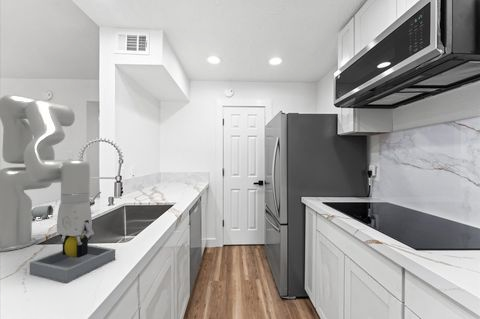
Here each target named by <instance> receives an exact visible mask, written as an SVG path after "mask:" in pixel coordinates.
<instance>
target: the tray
mask: <svg viewBox="0 0 480 319" xmlns="http://www.w3.org/2000/svg"><path fill="white" fill-rule="evenodd" d="M115 260H116V248H110V247H103V246H97V245H91V244H88V253H87V255H84V256H82V257H79V258H73V257H70V256H68V255H67V254H66V255H63V250H60V251H58V252H54V253H52V254H49V255H45V256H44V257H41V258H38V259H34V260H33V261H30V262H29V275H32V276H37V277H40V278H45V279H47V280H52V281H53V280H54V281H56V282H61V283H65V284H68V283H70V282H72V281H74V280H76V279H78V278H80V277H82V276H85V275H86V274H88V273H90V272H91V273H92V271H94V270H97V269H99V268H101V267H102V266H105V265H107V264H109V263H112V262H114V261H115Z"/></svg>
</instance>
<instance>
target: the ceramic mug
mask: <svg viewBox="0 0 480 319" xmlns="http://www.w3.org/2000/svg"><path fill="white" fill-rule="evenodd" d="M48 215H52V216H53V215H54V207H53V206H52V205H51V204H47V205H39V206H38V205H37V206H35V207H32V219H34V218H36V217H40V218H38V219H41V218H44V219H46V218H45V217H48Z"/></svg>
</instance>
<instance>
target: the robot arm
mask: <svg viewBox="0 0 480 319" xmlns="http://www.w3.org/2000/svg"><path fill="white" fill-rule="evenodd" d="M0 121H1V124H2V127H3V133H2V159H3V161H4V162H5V163H8V164H13V165H15V164H16V165H18V164H19V165H24V166H12V167H5V168H1V169H0V252H10V251H14V250H19V249H23V248H27V247H30V246H32V245H34V244H36V242H37V238H35V237H32V234H33V233H32V228H33V226H32V224H33V220H32V210H33V204H32V203H33V202H32V199H31V197H30V196H29V195H28V193H26V192H25V191H28V190H29V191H30V190H31V191H32V190H40V189H47V188H49V187H50V186H51V185H52V184H54V183H55V184H56V183H60V203H59V206H58V210H57V211H58V212H57V220H56V232H57V234H59V236H60V238H61V242H62V251H63V255H66V253H65V242H66V240H67V239H68V238H69V237H70V236H73V237H77V240H78V245H77V258H79V257H82V256H84V255H87V253H88V245H89V244H88V243H89V242H90V240H91V239H92V237H93V236H94V235H95V232H94V230H93V228H92V227H93V221H92V219H93V218H92V209H91V204H90V191H91V190H90V188H91V187H90V182H91V181H90V178H91V177H90V170H91V169H90V167H91V166H90V163H89V161H86V160H75V159H74V160H73V159H64V160H63V159H55V158H56V156H55V149H54V147H53V146H55V145H58V144H60V143H62V141H64V140H65V136H66V135H65V132H64V129H63V127H65V128H66V127H70V126H72V125H74V122H75V112H74V111H73V109H72V108H71V107H70V106H68V105H66V104H61V103H56V102H52V101H47V100H42V99H36V98H32V97H27V96H22V95H16V94H7V95H4V96H2V97H1V98H0ZM81 236H83V239H82V238H81Z"/></svg>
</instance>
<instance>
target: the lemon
mask: <svg viewBox="0 0 480 319" xmlns="http://www.w3.org/2000/svg"><path fill="white" fill-rule="evenodd" d="M83 237H84V235H83V236H81V238H82V239H83ZM77 245H78V240H77V237H73V236H70V237H69V238H68V239H67V240H66V242H65V253H66V254H67V255H68V256H70V257H73V258H77Z"/></svg>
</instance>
